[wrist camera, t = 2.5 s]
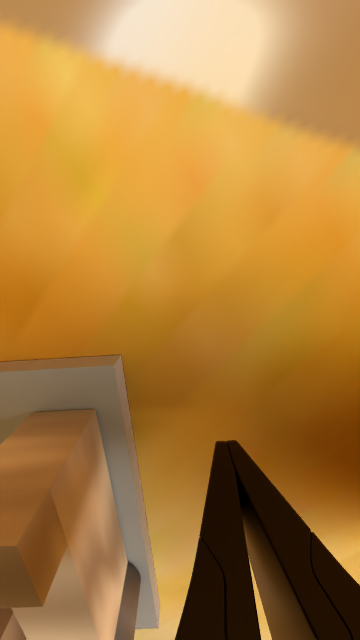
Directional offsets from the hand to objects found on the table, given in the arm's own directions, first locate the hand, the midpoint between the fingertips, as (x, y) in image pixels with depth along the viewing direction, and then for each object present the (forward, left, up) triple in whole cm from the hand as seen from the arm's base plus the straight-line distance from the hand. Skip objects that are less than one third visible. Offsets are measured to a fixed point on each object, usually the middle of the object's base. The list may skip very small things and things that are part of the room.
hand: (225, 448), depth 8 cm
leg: (-5, +7, -1) cm, 9 cm away
